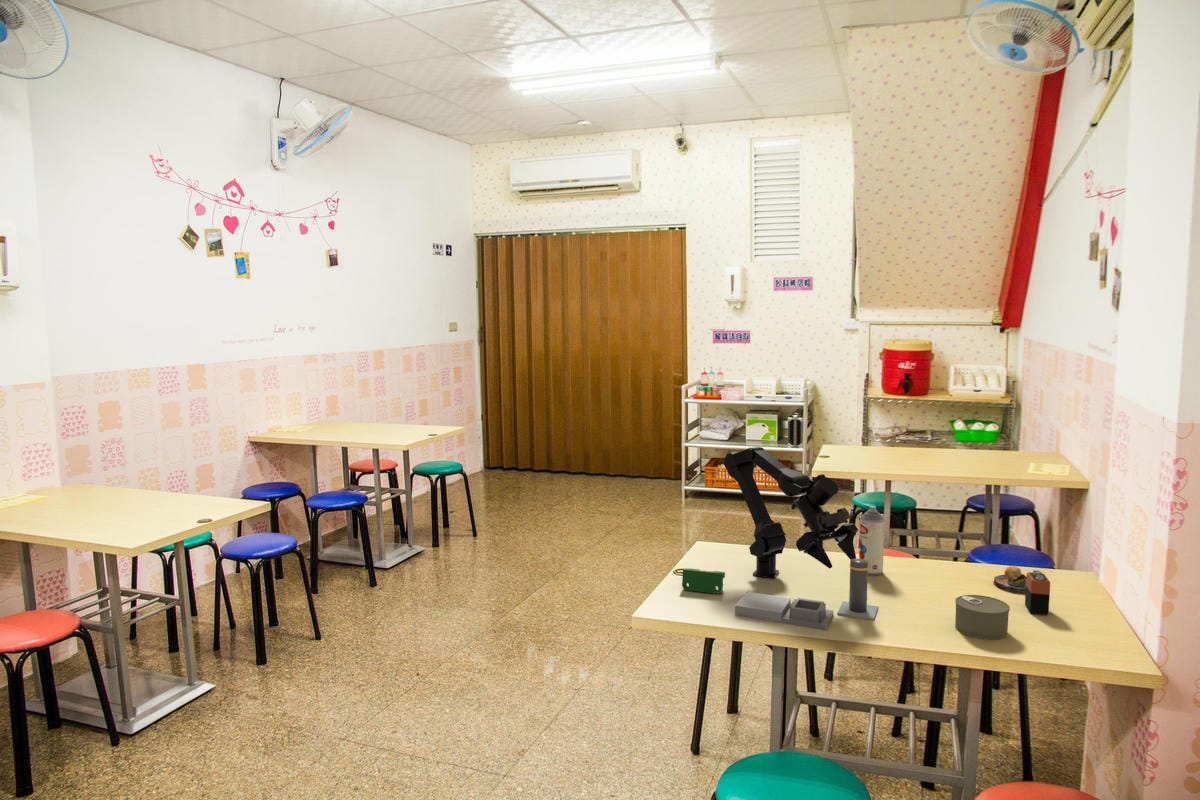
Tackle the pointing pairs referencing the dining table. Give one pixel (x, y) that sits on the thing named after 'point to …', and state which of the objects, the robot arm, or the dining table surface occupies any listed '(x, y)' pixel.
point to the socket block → (784, 610)
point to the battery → (1037, 593)
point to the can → (981, 617)
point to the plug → (858, 585)
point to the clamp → (702, 580)
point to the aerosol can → (872, 540)
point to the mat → (845, 611)
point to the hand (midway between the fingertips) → (843, 564)
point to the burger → (1011, 580)
